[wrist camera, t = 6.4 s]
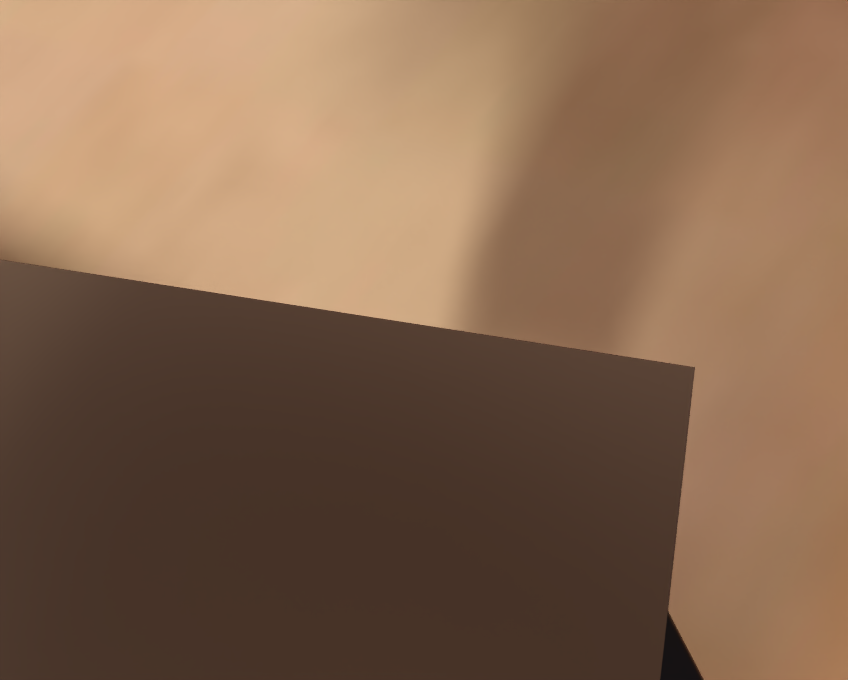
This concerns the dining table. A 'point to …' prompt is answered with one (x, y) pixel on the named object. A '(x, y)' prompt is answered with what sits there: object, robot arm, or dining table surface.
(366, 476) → the walnut block
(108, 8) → the dining table surface
